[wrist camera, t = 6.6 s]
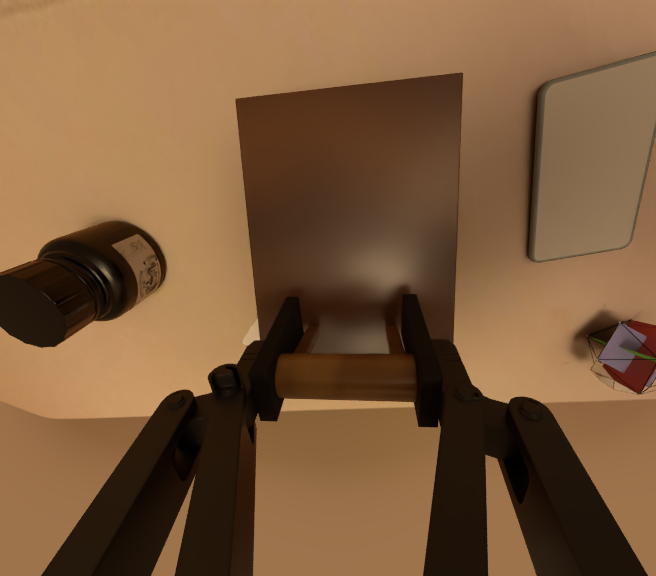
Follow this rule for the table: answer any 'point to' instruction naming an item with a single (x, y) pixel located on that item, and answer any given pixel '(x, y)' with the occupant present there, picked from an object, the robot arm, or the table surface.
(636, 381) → the geometric puzzle
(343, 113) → the compartment door
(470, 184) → the table surface
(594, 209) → the smartphone
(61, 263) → the ink bottle
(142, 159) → the table surface
